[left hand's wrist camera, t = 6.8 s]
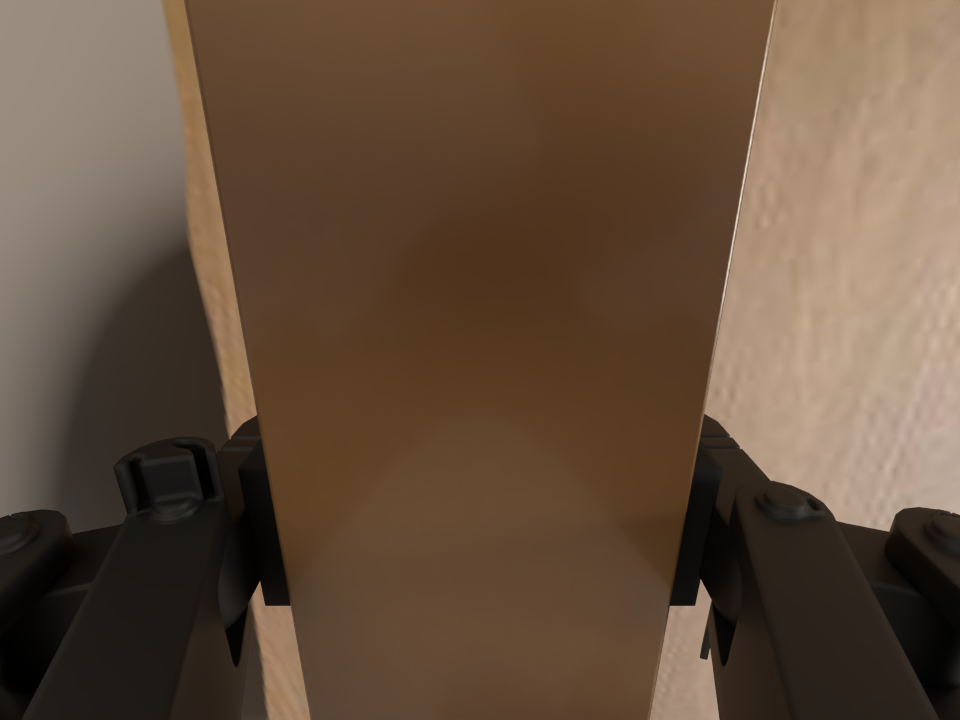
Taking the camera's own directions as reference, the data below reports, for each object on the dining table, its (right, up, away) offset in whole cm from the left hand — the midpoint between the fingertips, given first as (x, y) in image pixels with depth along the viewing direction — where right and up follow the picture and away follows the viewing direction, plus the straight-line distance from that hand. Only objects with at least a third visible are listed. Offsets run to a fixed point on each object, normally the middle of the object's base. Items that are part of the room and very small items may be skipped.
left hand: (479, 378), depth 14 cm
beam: (0, -20, +8) cm, 22 cm away
